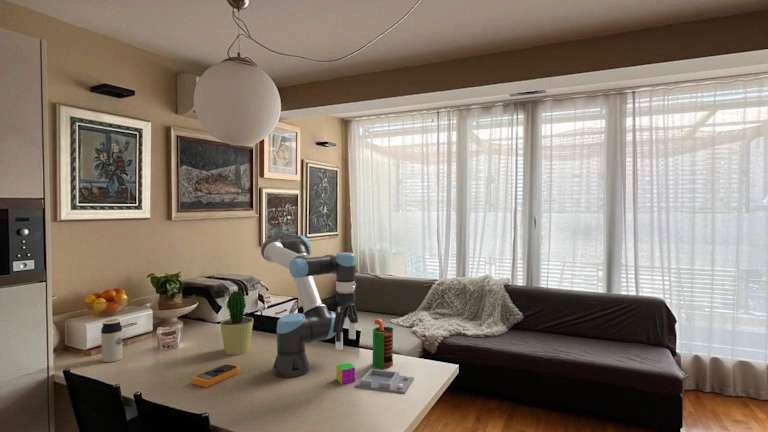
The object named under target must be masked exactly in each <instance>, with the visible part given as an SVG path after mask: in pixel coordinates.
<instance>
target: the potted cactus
mask: <svg viewBox="0 0 768 432" xmlns="http://www.w3.org/2000/svg"><path fill="white" fill-rule="evenodd" d="M243 293H244V292H242V290H241V291H240V290H232V291H231V292H230V294H229V295H228V296H227V297H226V298H227V300H226V304H225V305H226V306H225V309H226V311H228V313H229V314H228V318H224V319H222V320H221V321H220V322H219V324H220V332H221V336H222V343H223V344H222V345H223V349H224V354H225V355H228V356H239V355H243V354H246V352H247V353H248V352H250V349H251V343H252V341H251V340H252V334H253V325H254V321H255V320H254V318H253V317H249V316H245V315H244V314H245V309H246V307H247V304H248V303H247V302H246V298H245V297H244V294H243Z"/></svg>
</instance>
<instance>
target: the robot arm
mask: <svg viewBox="0 0 768 432" xmlns="http://www.w3.org/2000/svg"><path fill="white" fill-rule="evenodd" d="M311 252H312V251H311V244H310V241H309V239H308V238H307V237H306V236H304V235H301V234H300V235H299V234H298V235H297V234H294V235H280V236H278V235H277V236H271V237H269V238H267V239H266V240H265V241H264V242H263V243H262V245H261V247H260V255H261V256H262V258H263V260H265V261H266V262H269V263H273V264H274V263H276V264H278V265H279V266H282V267H284V268H285V269H288V270H289V274H290V275H291V277H292V278H293V281H294V283H295V287H296V290H297V292H298V297H299V299H300V301H301V305H302V309H303V313H301V312H296V313H288V314H285V315H283V316H282V317H280V318H279V319H278V320H277V322H276V323H277V324H276V346H277V348H276V350H277V351H276V352H277V353H276V356H275V359H274V360H275V361H274V363H273V368H272V373H273V375H274V376H276V377H280V378H295V377H300V376H303V375H305V374H308V372H309V371H310V362H309V359H308V355H307V354H306V344H311V343H315V342H319V341H320V342H321V341H325V340H328V339H332V338H333V337H334V336H335V350H340V351H343V349H344V338H343V337H344V335H343V334H344V333H343V329H344V324H345V321H346V318H347V319H348V321H349V323H348V339H349V340H356V339H357V338H356V337H357V336H356V334H357V333H356V332H357V331H356V324H357V323H358V322H359V320H358V319H359V318H358V317H359V316H358V314H357V313H358V312H357V308H356V292H355V291H356V286H357V283H356V258H355V254H354V253H353V252H345V251H344V252H338V253H336V255H334V254H324V255H323V256H311V254H312V253H311ZM310 256H311V257H310ZM322 275H335V277H336V278H335V279H336V281H335V283H336V285H335V287H336V288H335V291H337V292H336V297H335V298H336V300H335V301H336V302H337V303H339V306H336V308H335V312H334V311H330V310H329V309H328V307H327V305H325V304H324V303H323V302H322V300H321V296H320V294H319V290H318V289H317V285H316V283H315V280H314V277H315V276H322Z"/></svg>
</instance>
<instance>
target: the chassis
mask: <svg viewBox="0 0 768 432" xmlns="http://www.w3.org/2000/svg"><path fill="white" fill-rule="evenodd" d="M414 380H415V377H414V376H409V375H408V374H405V375H401V374H400V372H399V371H394V370H384V369H377V368H370V369H369V370H368V371H366V373H365V374H363V376H362V377H361V378H360V379H359V380H358V381H357V382H356V383H355V384H354V388H359V389H366V390H373V391H381V392H390V393H396V394H406V393H407V391H408V389H409V388H410V386H411V385H412V383H413V382H414Z"/></svg>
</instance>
